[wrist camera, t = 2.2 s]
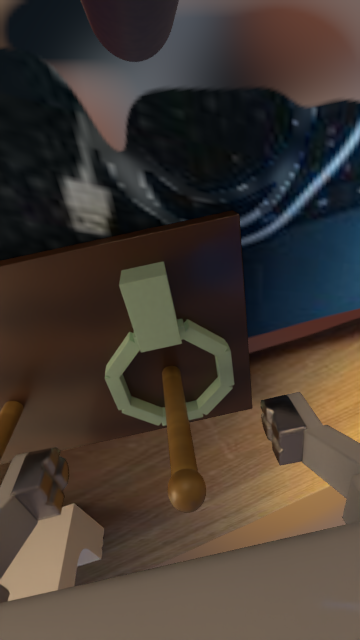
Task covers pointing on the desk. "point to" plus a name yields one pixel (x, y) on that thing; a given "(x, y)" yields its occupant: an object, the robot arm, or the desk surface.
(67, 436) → the peg rack
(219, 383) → the hanging tag
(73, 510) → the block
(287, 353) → the desk surface
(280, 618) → the robot arm
